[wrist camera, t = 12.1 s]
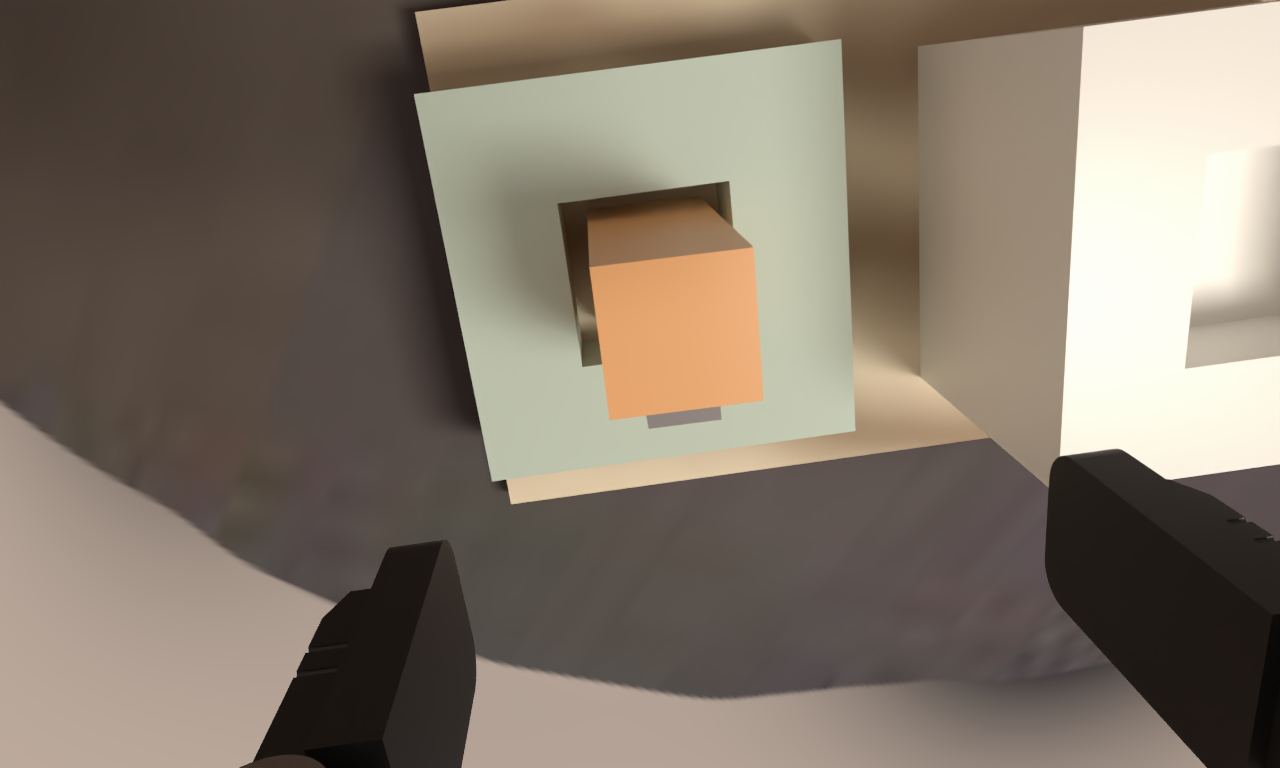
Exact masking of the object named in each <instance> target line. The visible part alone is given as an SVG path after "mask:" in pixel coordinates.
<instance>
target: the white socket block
mask: <svg viewBox="0 0 1280 768" xmlns="http://www.w3.org/2000/svg"><path fill="white" fill-rule="evenodd" d="M918 152H919V287H920V377H921V378H922V379H923V380H924V381H925V382H927V383H928V384H929V385H930V386H931V387H932V388H933V389H935V390H936V391H937V392H938V393H939V394H940V395H942V396H943V397H944V398H945V399H946V400H947V401H949V402H950V403H951V404H952V405H953V406H954V407H956V408H957V409H958V410H959V411H960V412H961V413H963V414H964V415H965V416H966V417H967V418H968V419H970V420H971V421H972V422H973V423H974V424H975V425H977V426H978V427H979V428H980V429H981V430H982V431H983V432H985V433H986V434H987V435H988V436H989V437H990V438H992V439H993V440H994V441H995V442H996V443H997V444H999V445H1000V446H1001V447H1002V448H1003V449H1004V450H1006V451H1007V452H1008V453H1009V454H1010V455H1011V456H1013V457H1014V458H1015V459H1016V460H1017V461H1018V462H1020V463H1021V464H1022V465H1023V466H1024V467H1025V468H1027V469H1028V470H1029V471H1030V472H1031V473H1032V474H1033V475H1035V476H1036V477H1037V478H1038V479H1039V480H1040V481H1042V482H1043V483H1044V484H1045V485H1046V486H1047V487H1049V476H1050V470H1051V466H1052V464H1053V462H1054V461H1055V459H1057V458H1058V457H1060V456H1065V455H1072V454H1080V453H1087V452H1094V451H1101V450H1108V449H1121V450H1123V451H1125V452H1127V453H1128V454H1130V455H1131V456H1133V457H1134V458H1136V459H1137V460H1139V461H1140V462H1141V463H1143V464H1144V465H1146V466H1147V467H1149V468H1150V469H1152V470H1153V471H1155V472H1156V473H1158V474H1159V475H1160V476H1162V477H1163V478H1165V479H1169V480H1170V479H1177V478H1184V477H1192V476H1199V475H1206V474H1213V473H1220V472H1227V471H1234V470H1241V469H1248V468H1255V467H1262V466H1269V465H1277V464H1280V0H1273V1H1265V2H1257V3H1249V4H1241V5H1234V6H1226V7H1218V8H1211V9H1203V10H1195V11H1187V12H1180V13H1172V14H1164V15H1156V16H1149V17H1141V18H1133V19H1126V20H1118V21H1110V22H1102V23H1095V24H1087V25H1079V26H1071V27H1064V28H1056V29H1048V30H1041V31H1033V32H1025V33H1017V34H1010V35H1002V36H994V37H987V38H979V39H971V40H963V41H956V42H948V43H940V44H932V45H925V46H918Z"/></svg>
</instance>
